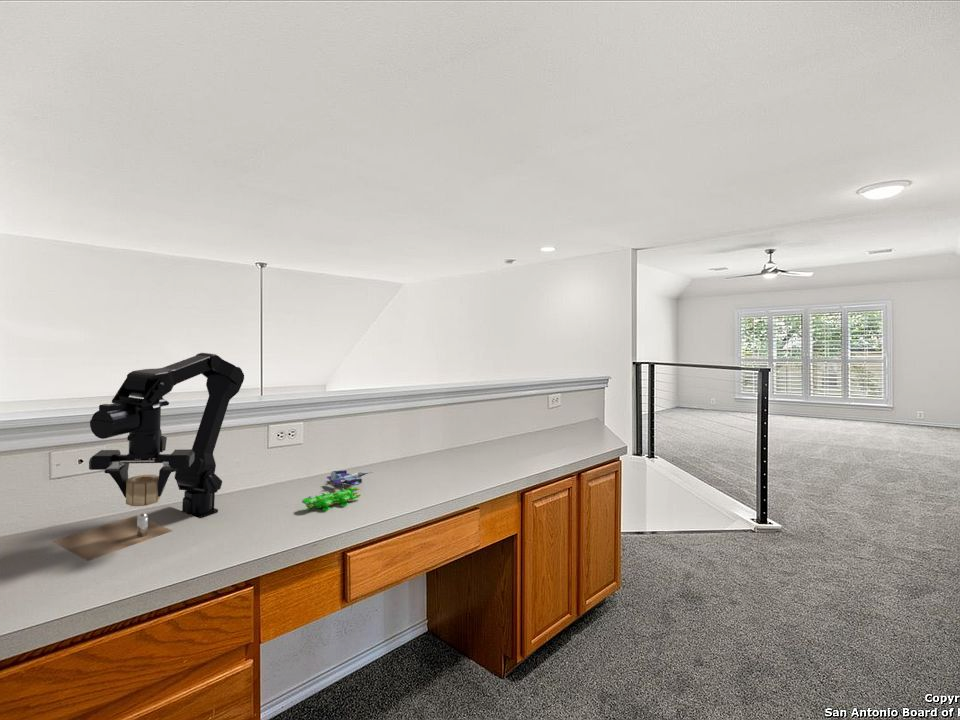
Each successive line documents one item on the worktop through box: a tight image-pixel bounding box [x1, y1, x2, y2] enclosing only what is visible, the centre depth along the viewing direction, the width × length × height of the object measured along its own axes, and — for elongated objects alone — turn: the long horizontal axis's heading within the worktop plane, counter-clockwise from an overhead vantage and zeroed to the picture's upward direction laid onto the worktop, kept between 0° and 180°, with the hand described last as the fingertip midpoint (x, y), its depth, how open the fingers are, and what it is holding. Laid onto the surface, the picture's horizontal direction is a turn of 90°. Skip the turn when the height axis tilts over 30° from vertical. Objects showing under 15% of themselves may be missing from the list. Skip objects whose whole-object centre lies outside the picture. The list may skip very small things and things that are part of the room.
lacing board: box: [52, 514, 173, 561], centre depth 110 cm, size 17×14×2 cm
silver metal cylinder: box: [137, 512, 149, 537], centre depth 111 cm, size 2×2×5 cm
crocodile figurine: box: [301, 486, 362, 512], centre depth 140 cm, size 7×18×4 cm, turn 136°
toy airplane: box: [326, 470, 373, 490], centre depth 157 cm, size 13×14×4 cm
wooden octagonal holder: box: [125, 474, 161, 507], centre depth 110 cm, size 6×6×5 cm
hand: (143, 496), depth 110 cm, fingers closed on wooden octagonal holder, 6 cm apart
